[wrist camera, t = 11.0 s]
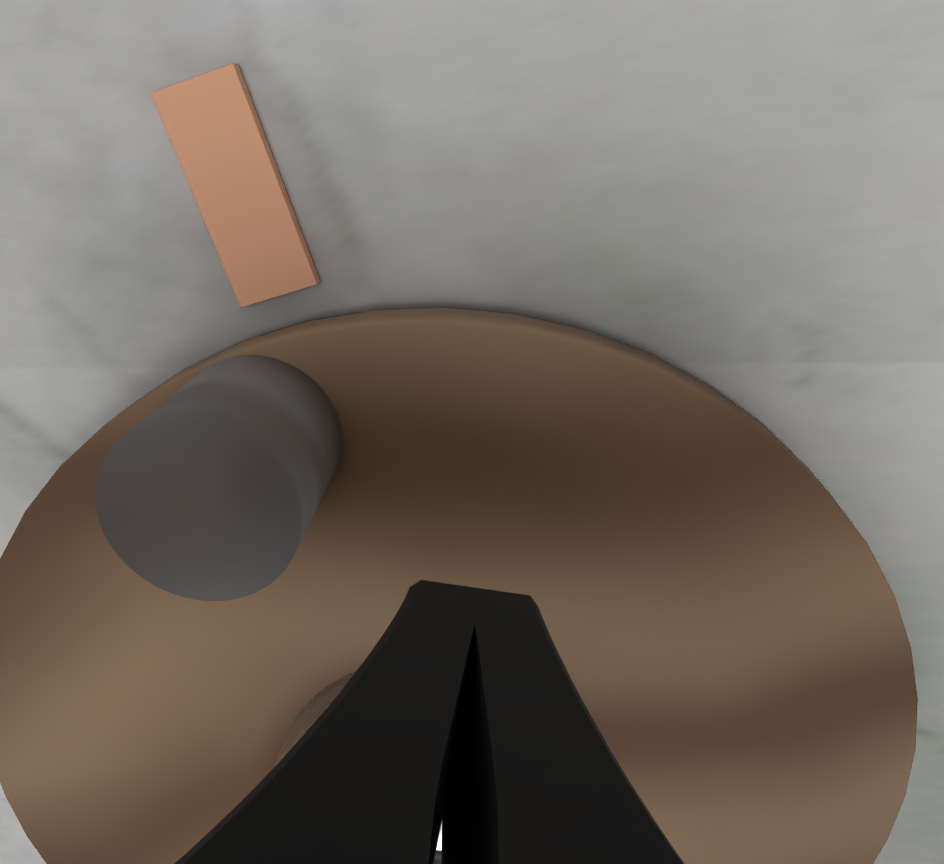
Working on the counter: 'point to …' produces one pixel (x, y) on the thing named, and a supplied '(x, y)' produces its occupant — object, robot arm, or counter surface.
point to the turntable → (453, 562)
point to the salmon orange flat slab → (236, 184)
